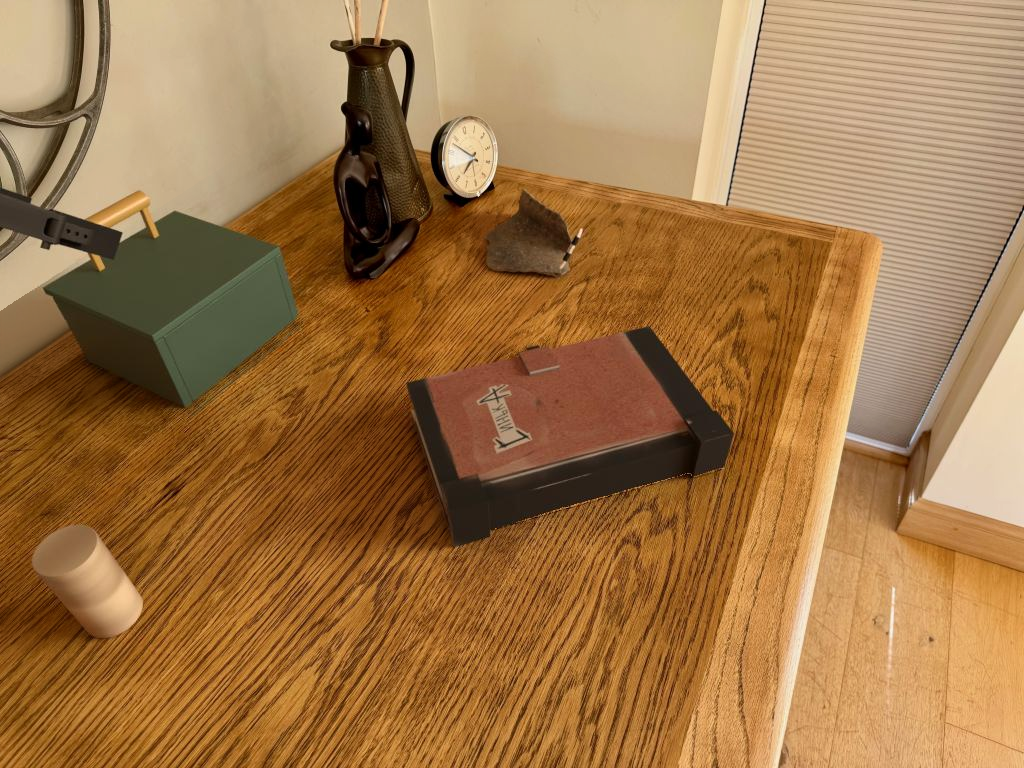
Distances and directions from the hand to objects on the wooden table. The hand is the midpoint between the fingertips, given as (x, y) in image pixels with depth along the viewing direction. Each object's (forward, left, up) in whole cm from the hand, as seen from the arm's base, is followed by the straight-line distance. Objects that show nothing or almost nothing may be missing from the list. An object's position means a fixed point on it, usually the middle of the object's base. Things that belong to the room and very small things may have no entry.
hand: (69, 227), depth 70 cm
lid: (+5, +5, -6) cm, 9 cm away
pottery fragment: (+29, +39, -17) cm, 51 cm away
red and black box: (+48, +12, -17) cm, 52 cm away
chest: (+6, +5, -16) cm, 18 cm away
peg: (+25, -23, -16) cm, 37 cm away
